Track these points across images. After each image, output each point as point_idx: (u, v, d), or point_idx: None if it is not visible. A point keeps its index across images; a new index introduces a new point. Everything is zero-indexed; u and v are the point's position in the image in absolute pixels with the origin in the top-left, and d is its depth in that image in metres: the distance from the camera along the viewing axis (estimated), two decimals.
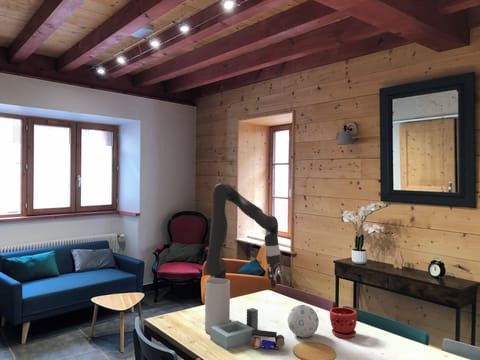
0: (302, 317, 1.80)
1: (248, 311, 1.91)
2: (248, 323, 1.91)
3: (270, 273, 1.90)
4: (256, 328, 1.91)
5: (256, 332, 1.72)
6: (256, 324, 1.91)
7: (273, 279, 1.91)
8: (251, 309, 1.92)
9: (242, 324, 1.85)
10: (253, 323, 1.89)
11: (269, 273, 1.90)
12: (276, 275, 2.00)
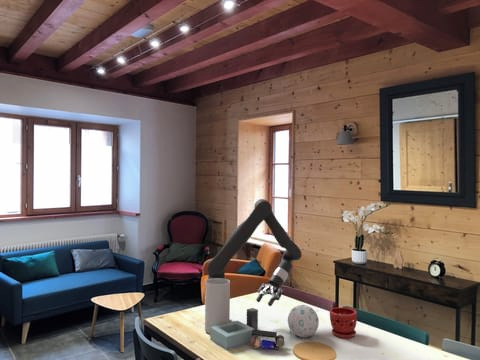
0: (302, 317, 1.80)
1: (248, 311, 1.91)
2: (248, 323, 1.91)
3: (280, 294, 1.95)
4: (256, 328, 1.91)
5: (256, 332, 1.72)
6: (256, 324, 1.91)
7: (275, 299, 1.95)
8: (251, 309, 1.92)
9: (242, 324, 1.85)
10: (253, 323, 1.89)
11: (279, 293, 1.95)
12: (261, 293, 2.02)
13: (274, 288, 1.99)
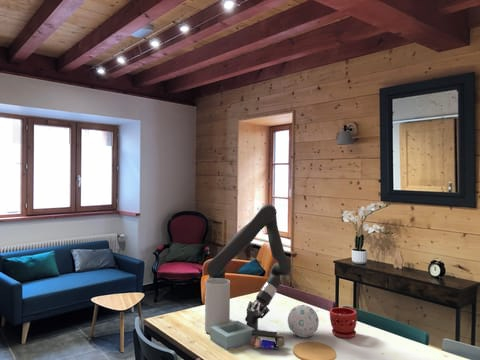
0: (302, 317, 1.80)
1: (248, 311, 1.91)
2: (248, 323, 1.91)
3: (264, 313, 1.89)
4: (256, 328, 1.91)
5: (256, 332, 1.72)
6: (256, 324, 1.91)
7: (258, 317, 1.90)
8: (251, 309, 1.92)
9: (242, 324, 1.85)
10: None
11: (264, 312, 1.89)
12: None
13: (261, 306, 1.92)
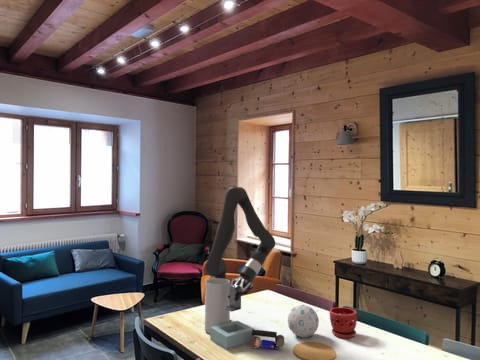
0: (302, 317, 1.80)
1: (231, 287, 1.80)
2: (231, 300, 1.80)
3: (248, 289, 1.79)
4: (239, 306, 1.80)
5: (256, 332, 1.72)
6: (239, 301, 1.80)
7: None
8: (234, 285, 1.81)
9: (242, 324, 1.85)
10: None
11: (247, 288, 1.78)
12: None
13: (245, 282, 1.82)
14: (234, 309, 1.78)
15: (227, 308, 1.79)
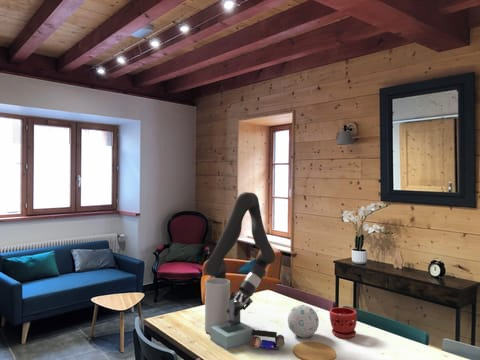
0: (302, 317, 1.80)
1: (230, 302, 1.80)
2: (230, 315, 1.80)
3: (247, 304, 1.78)
4: (239, 321, 1.80)
5: (256, 332, 1.72)
6: (238, 316, 1.80)
7: None
8: (233, 300, 1.81)
9: (242, 324, 1.85)
10: None
11: (247, 303, 1.78)
12: None
13: (244, 296, 1.81)
14: (233, 324, 1.77)
15: (226, 323, 1.78)
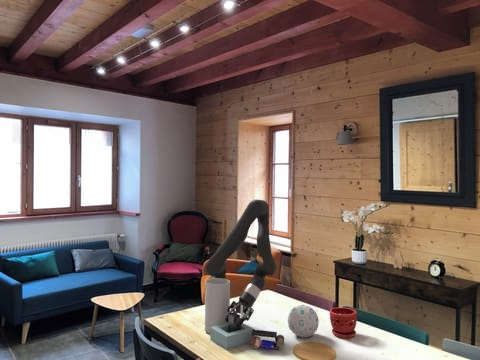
0: (302, 317, 1.80)
1: (230, 316, 1.80)
2: (230, 329, 1.80)
3: (250, 314, 1.78)
4: None
5: (256, 332, 1.72)
6: None
7: (244, 320, 1.78)
8: (233, 314, 1.81)
9: (242, 324, 1.85)
10: (235, 329, 1.78)
11: (249, 313, 1.78)
12: (230, 312, 1.84)
13: (244, 307, 1.81)
14: None
15: None
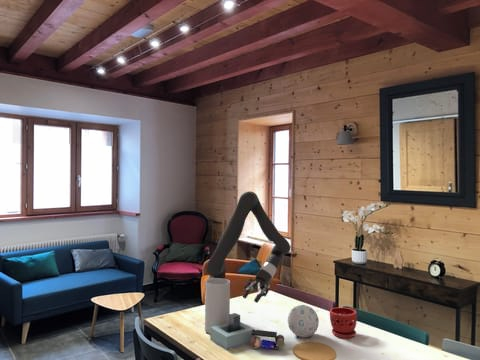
0: (302, 317, 1.80)
1: (230, 316, 1.80)
2: (230, 329, 1.80)
3: (267, 290, 1.85)
4: None
5: (256, 332, 1.72)
6: None
7: (261, 295, 1.85)
8: (233, 314, 1.81)
9: (242, 324, 1.85)
10: (235, 329, 1.78)
11: (266, 289, 1.85)
12: (247, 289, 1.92)
13: (261, 284, 1.89)
14: None
15: None
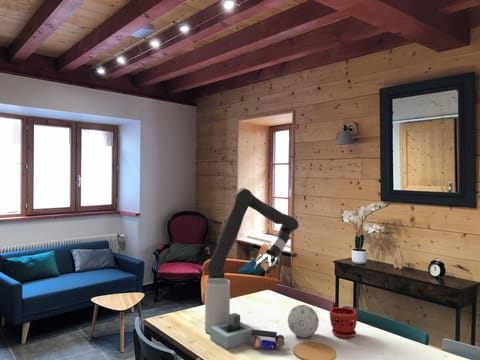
0: (302, 317, 1.80)
1: (230, 316, 1.80)
2: (230, 329, 1.80)
3: (277, 262, 1.97)
4: None
5: (256, 332, 1.72)
6: None
7: (272, 267, 1.97)
8: (233, 314, 1.81)
9: (242, 324, 1.85)
10: (235, 329, 1.78)
11: (277, 262, 1.97)
12: (258, 263, 2.04)
13: (271, 257, 2.01)
14: None
15: None
